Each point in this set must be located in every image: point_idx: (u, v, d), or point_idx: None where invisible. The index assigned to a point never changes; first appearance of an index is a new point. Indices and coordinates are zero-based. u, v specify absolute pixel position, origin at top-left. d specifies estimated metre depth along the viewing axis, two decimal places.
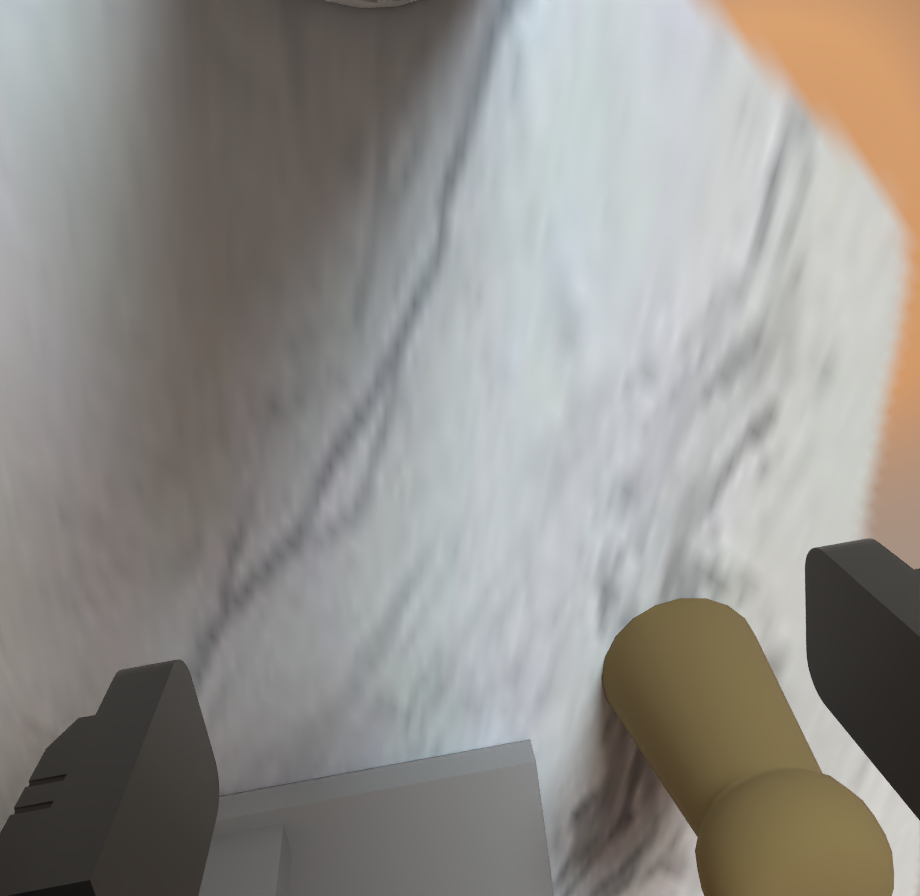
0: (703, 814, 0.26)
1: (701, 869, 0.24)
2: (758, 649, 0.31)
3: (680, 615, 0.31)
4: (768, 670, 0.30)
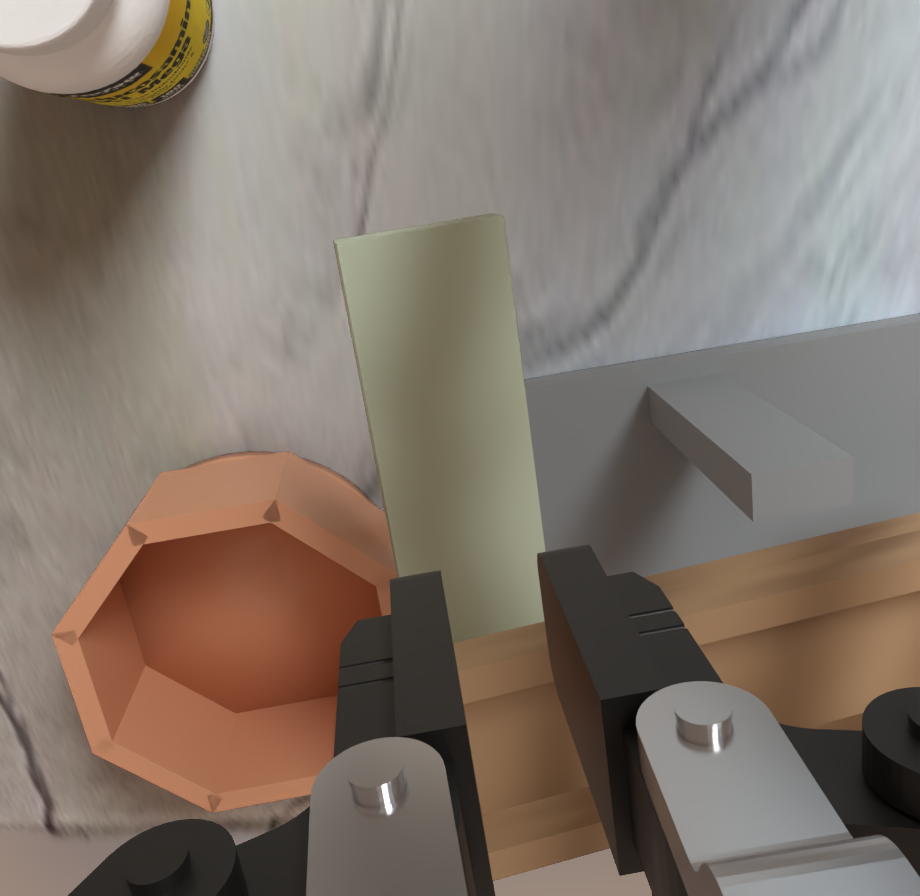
0: None
1: None
2: None
3: None
4: None
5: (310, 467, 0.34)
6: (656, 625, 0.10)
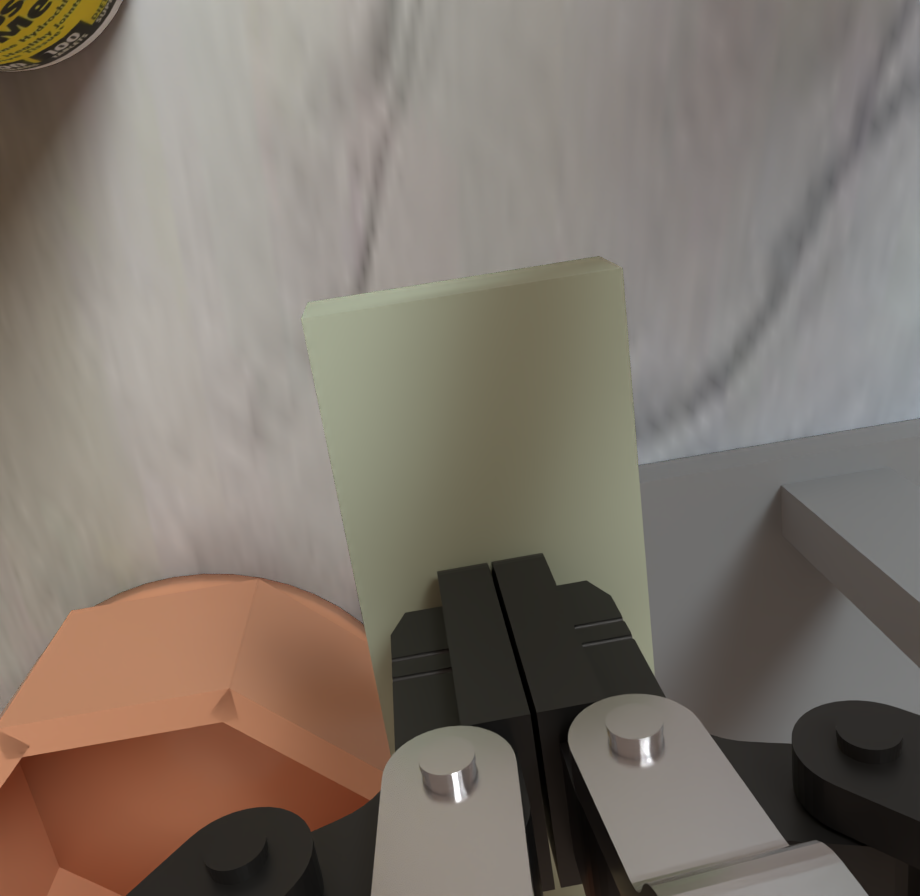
0: None
1: None
2: None
3: None
4: None
5: (289, 602, 0.23)
6: (604, 635, 0.10)
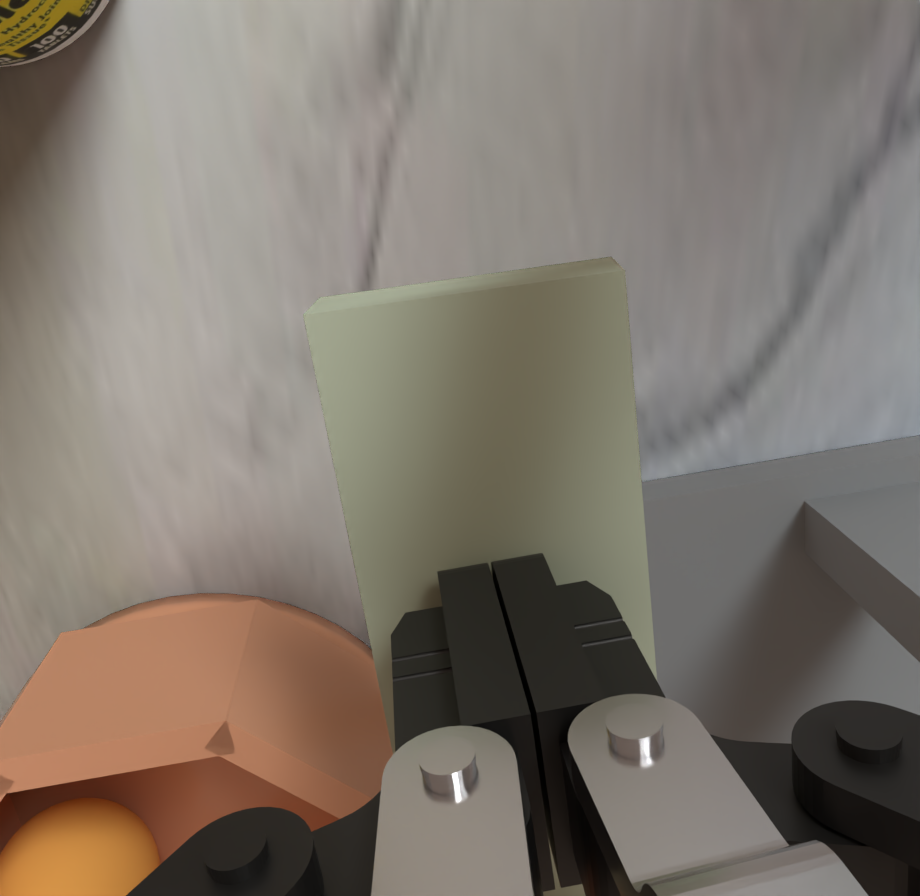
0: None
1: None
2: None
3: None
4: None
5: (289, 624, 0.22)
6: (603, 635, 0.10)
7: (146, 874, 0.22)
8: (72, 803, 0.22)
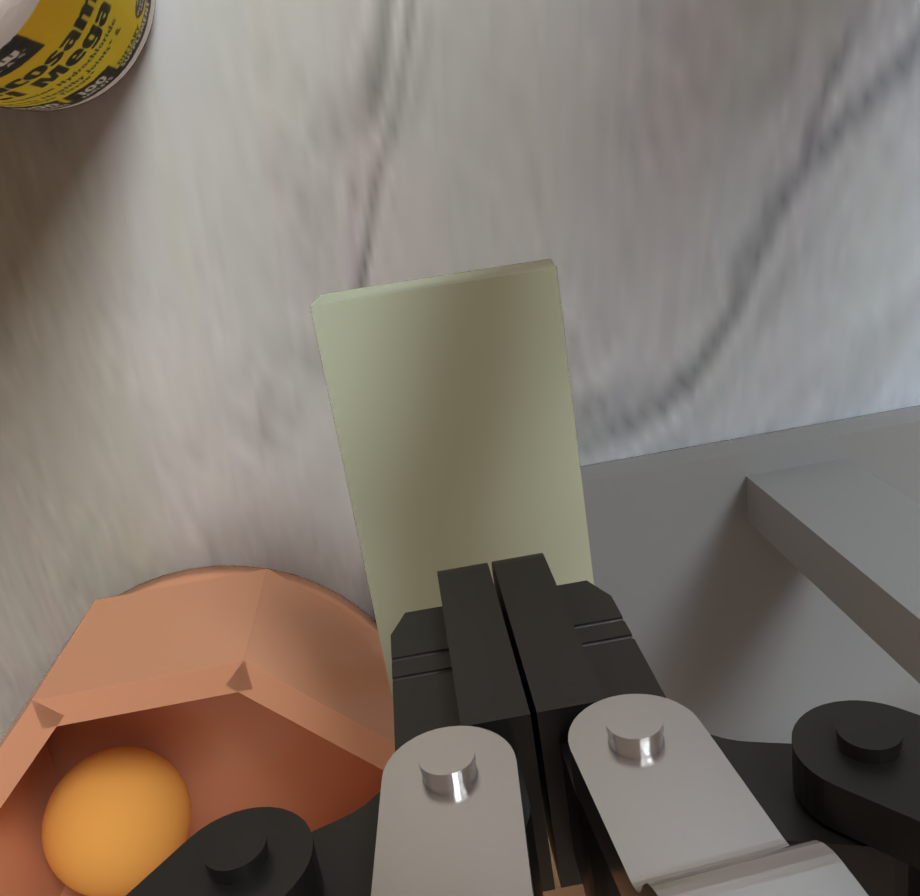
0: None
1: None
2: None
3: None
4: None
5: (295, 590, 0.25)
6: (604, 635, 0.10)
7: (183, 804, 0.25)
8: (111, 750, 0.25)
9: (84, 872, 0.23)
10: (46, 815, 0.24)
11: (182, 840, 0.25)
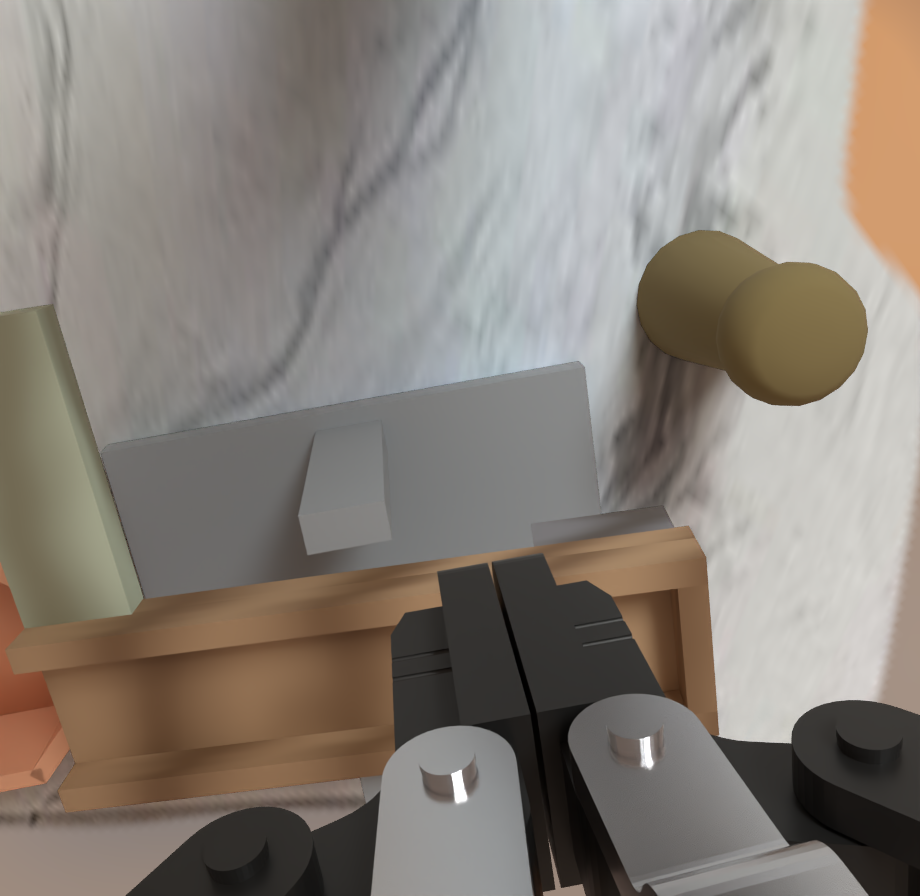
0: None
1: (721, 337, 0.32)
2: None
3: (699, 236, 0.39)
4: None
5: None
6: (604, 635, 0.10)
7: None
8: None
9: None
10: None
11: None
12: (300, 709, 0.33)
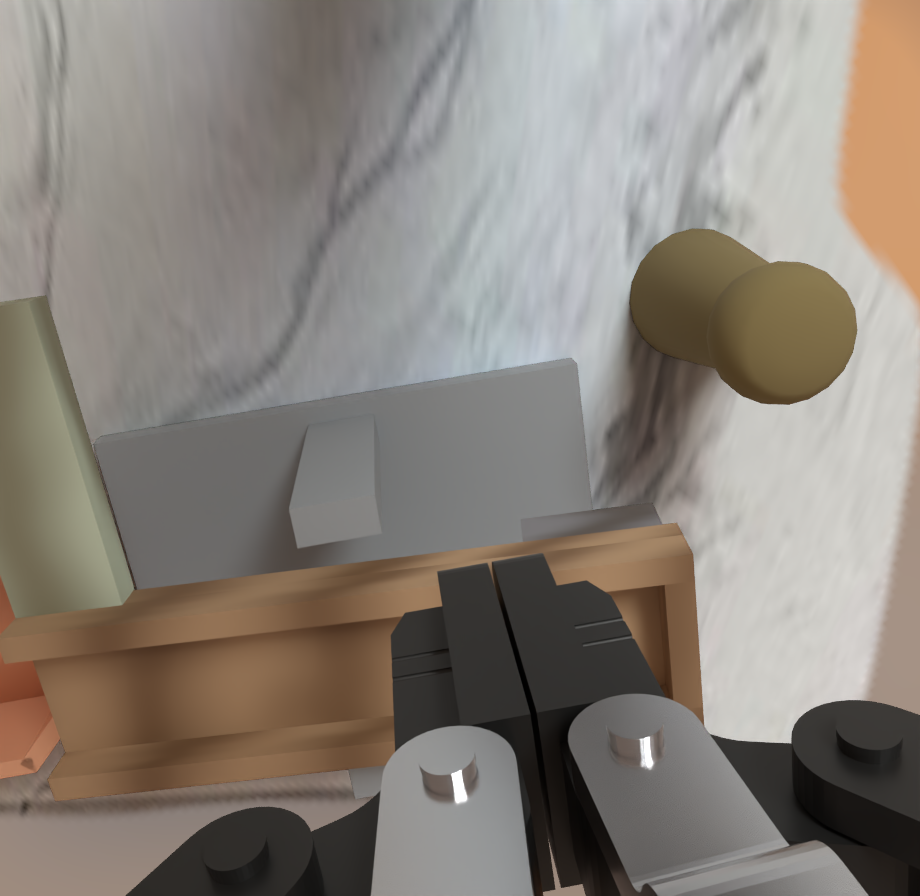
0: None
1: (711, 336, 0.32)
2: None
3: (692, 234, 0.39)
4: None
5: None
6: (604, 635, 0.10)
7: None
8: None
9: None
10: None
11: None
12: (289, 701, 0.33)
